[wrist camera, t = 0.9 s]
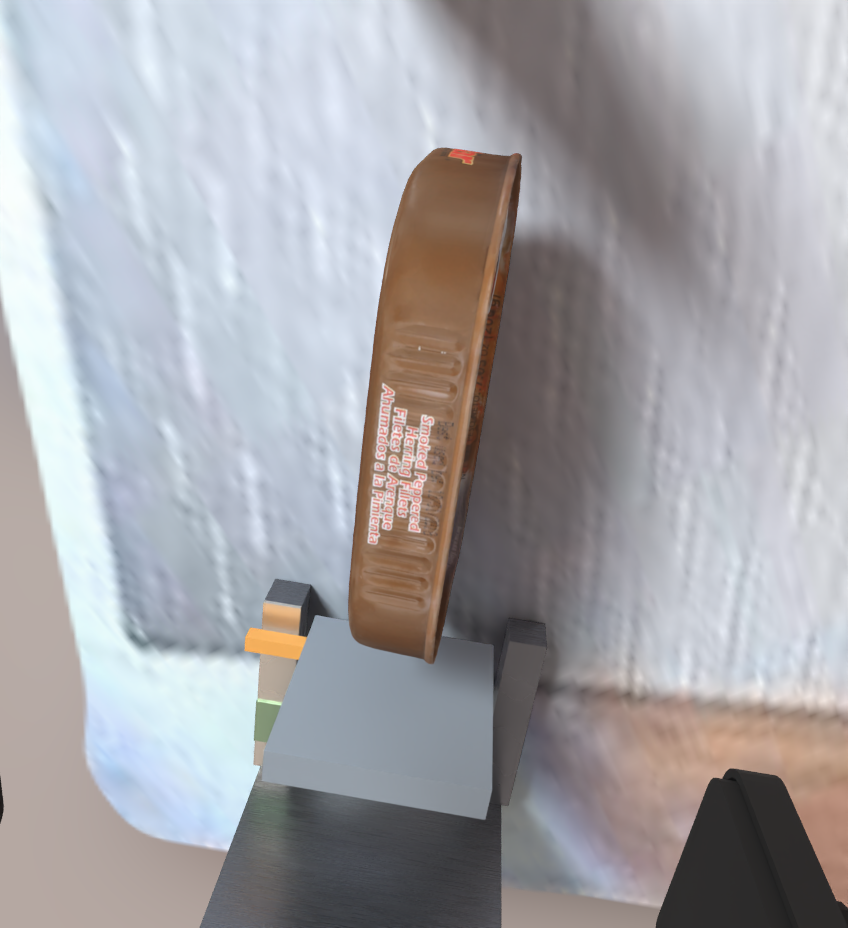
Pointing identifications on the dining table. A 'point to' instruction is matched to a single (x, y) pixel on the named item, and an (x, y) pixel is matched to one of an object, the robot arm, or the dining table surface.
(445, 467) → the tin
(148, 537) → the dining table surface
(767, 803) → the robot arm
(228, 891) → the frame
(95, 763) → the dining table surface
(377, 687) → the gauge carriage
